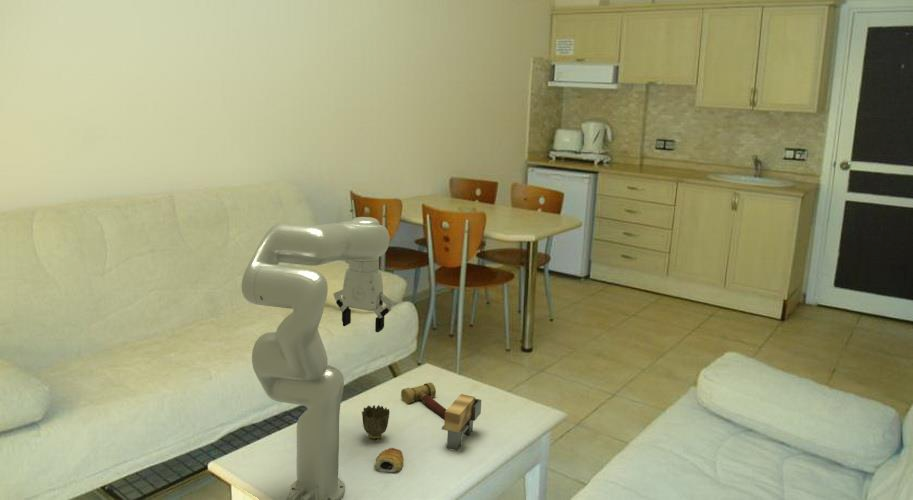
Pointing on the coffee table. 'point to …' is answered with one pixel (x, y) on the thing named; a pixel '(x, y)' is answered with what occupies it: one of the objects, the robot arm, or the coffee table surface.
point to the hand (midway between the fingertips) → (362, 327)
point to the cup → (375, 421)
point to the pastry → (389, 460)
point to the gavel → (423, 397)
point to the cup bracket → (473, 417)
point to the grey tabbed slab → (455, 438)
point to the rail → (459, 413)
